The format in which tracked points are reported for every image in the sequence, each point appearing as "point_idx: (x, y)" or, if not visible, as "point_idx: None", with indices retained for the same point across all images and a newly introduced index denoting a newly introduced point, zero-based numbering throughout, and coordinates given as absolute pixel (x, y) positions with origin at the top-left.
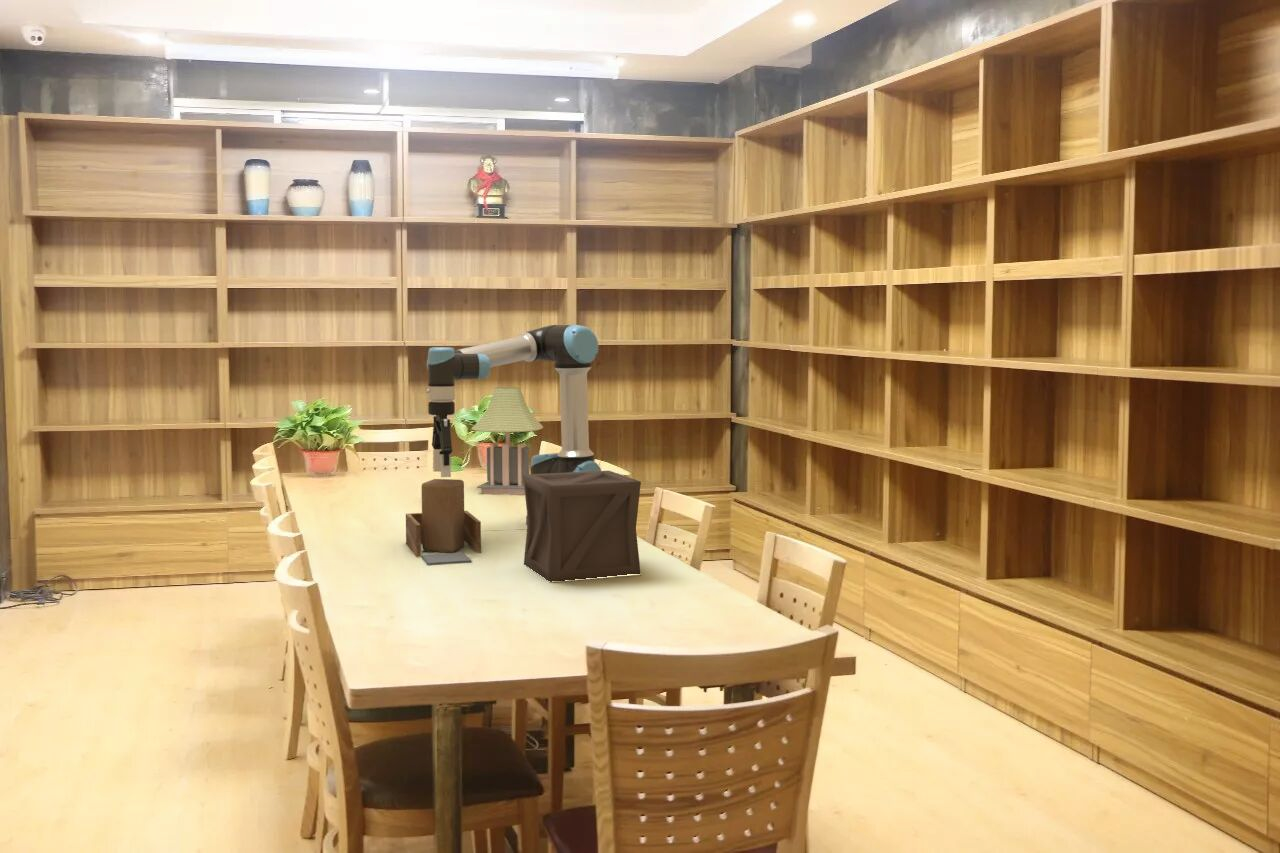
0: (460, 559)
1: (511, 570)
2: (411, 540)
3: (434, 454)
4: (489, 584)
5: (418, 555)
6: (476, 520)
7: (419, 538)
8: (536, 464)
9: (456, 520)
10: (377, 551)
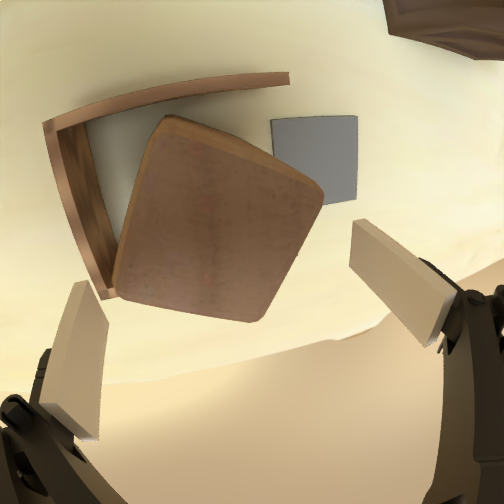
0: (345, 136)
1: (421, 71)
2: None
3: (97, 406)
4: (468, 129)
5: None
6: (262, 80)
7: None
8: None
9: (248, 144)
10: None
